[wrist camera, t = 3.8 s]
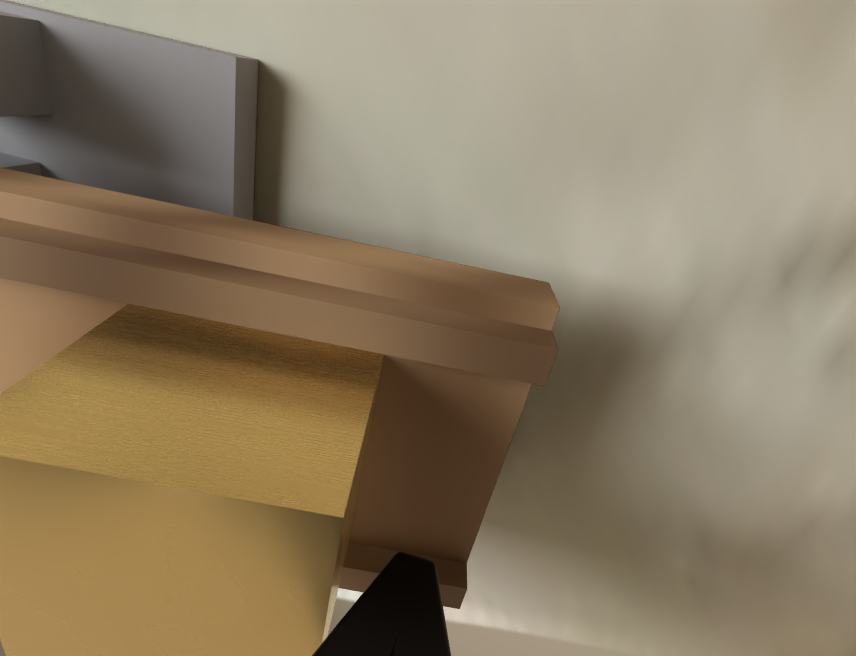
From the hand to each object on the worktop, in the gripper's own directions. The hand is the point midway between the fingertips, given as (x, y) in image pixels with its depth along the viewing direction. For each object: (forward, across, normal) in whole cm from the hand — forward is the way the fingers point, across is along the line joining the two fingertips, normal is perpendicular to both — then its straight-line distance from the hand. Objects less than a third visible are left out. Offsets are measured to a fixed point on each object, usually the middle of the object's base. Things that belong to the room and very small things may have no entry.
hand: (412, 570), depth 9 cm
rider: (+2, +4, 0) cm, 5 cm away
